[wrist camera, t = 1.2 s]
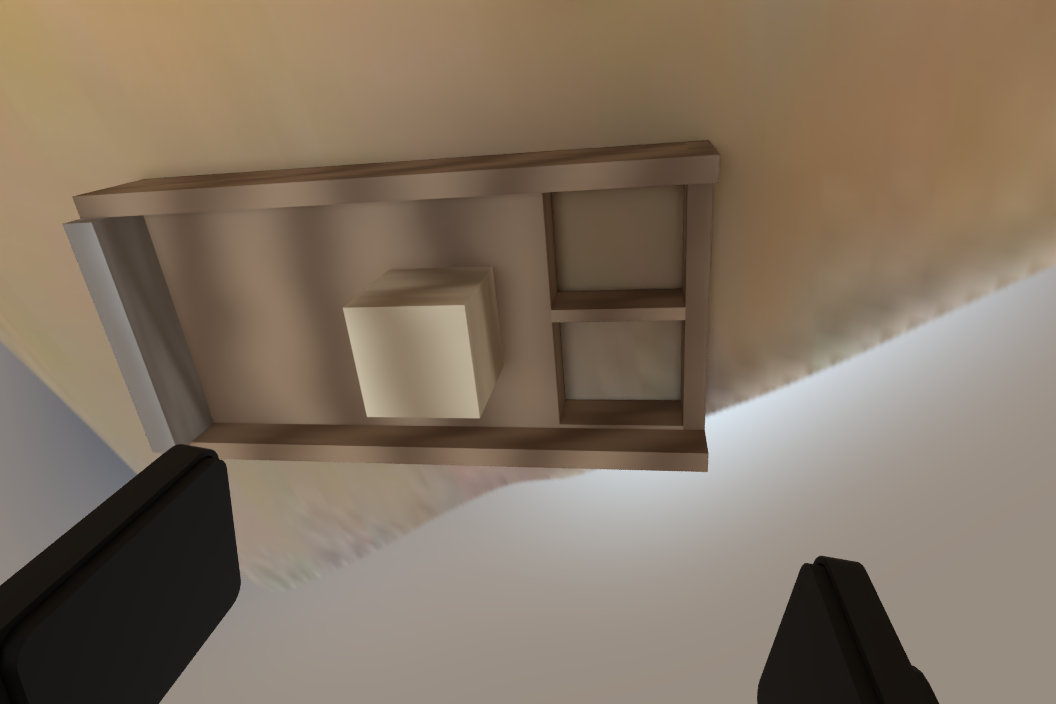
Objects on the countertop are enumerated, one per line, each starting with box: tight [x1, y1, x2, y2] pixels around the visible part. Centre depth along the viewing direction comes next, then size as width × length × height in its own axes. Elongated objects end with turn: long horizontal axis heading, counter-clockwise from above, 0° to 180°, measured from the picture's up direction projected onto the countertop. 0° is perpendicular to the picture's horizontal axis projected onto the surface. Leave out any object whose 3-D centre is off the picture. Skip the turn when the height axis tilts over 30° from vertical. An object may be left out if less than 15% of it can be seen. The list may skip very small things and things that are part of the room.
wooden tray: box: [63, 140, 720, 472], centre depth 30 cm, size 28×14×6 cm, turn 95°
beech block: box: [343, 266, 504, 418], centre depth 28 cm, size 5×5×5 cm
